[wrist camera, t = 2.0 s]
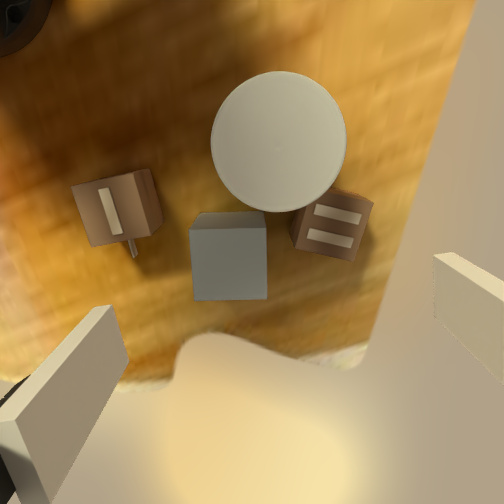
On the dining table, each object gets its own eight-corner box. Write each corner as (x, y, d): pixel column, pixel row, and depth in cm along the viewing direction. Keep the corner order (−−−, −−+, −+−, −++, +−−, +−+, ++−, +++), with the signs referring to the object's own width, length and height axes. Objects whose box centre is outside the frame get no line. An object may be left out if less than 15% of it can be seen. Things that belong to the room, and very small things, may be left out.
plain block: (204, 272, 44) (194, 301, 36) (200, 212, 42) (188, 229, 34) (264, 270, 44) (267, 299, 36) (263, 210, 41) (266, 227, 34)
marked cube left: (119, 251, 43) (98, 269, 37) (96, 179, 40) (69, 186, 35) (170, 241, 43) (156, 258, 37) (149, 168, 40) (132, 173, 34)
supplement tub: (205, 121, 39) (179, 113, 25) (287, 72, 37) (309, 33, 23) (251, 203, 41) (250, 238, 27) (329, 160, 40) (372, 173, 26)
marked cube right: (288, 234, 42) (294, 250, 36) (303, 180, 40) (312, 188, 35) (339, 246, 43) (353, 264, 37) (356, 193, 41) (374, 203, 35)
